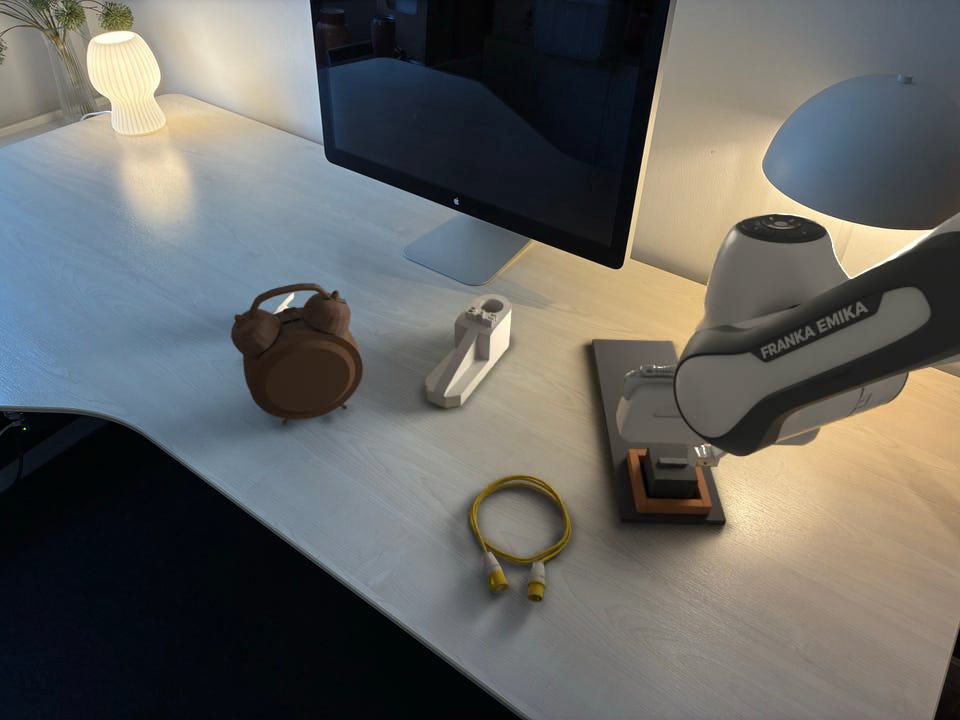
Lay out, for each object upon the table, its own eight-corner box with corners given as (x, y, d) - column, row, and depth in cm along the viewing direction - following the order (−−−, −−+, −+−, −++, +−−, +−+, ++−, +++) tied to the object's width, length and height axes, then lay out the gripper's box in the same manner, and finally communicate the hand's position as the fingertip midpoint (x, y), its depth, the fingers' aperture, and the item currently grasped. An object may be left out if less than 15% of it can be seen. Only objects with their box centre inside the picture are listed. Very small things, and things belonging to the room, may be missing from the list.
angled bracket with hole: (419, 397, 93) (417, 353, 88) (482, 325, 105) (484, 283, 100) (455, 412, 91) (455, 368, 86) (515, 337, 103) (518, 295, 98)
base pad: (724, 525, 79) (730, 513, 77) (620, 523, 79) (624, 510, 77) (671, 346, 103) (674, 333, 101) (591, 343, 103) (593, 331, 101)
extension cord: (433, 566, 74) (433, 556, 73) (499, 467, 85) (499, 456, 83) (535, 617, 70) (536, 607, 69) (590, 506, 80) (593, 496, 79)
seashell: (285, 352, 105) (269, 344, 97) (260, 332, 106) (241, 322, 98) (318, 312, 106) (305, 301, 98) (293, 292, 107) (277, 279, 99)
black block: (682, 468, 84) (690, 444, 81) (690, 501, 80) (699, 478, 77) (641, 467, 84) (648, 443, 81) (648, 500, 80) (655, 477, 77)
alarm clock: (356, 376, 96) (340, 257, 83) (371, 411, 91) (355, 289, 78) (251, 403, 92) (216, 282, 79) (260, 441, 87) (224, 318, 74)
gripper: (630, 388, 64) (611, 482, 73) (849, 392, 64) (802, 486, 73) (621, 345, 69) (604, 439, 78) (824, 349, 68) (783, 442, 77)
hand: (701, 462), depth 75 cm, fingers closed
